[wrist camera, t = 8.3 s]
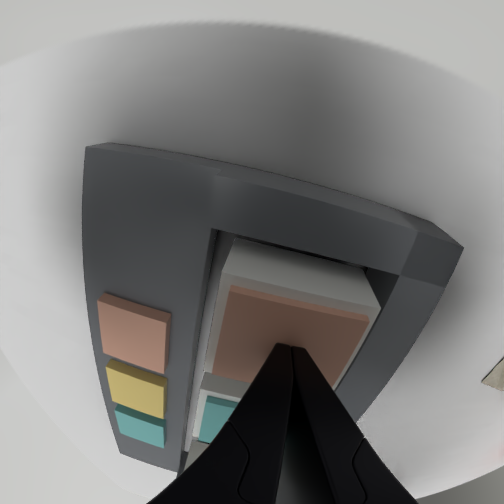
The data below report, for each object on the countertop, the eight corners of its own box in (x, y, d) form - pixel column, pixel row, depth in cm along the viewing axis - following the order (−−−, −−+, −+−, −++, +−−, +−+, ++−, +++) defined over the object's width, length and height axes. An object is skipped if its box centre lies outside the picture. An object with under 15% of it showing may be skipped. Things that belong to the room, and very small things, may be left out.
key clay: (321, 330, 12) (331, 401, 9) (222, 308, 12) (201, 377, 9) (354, 253, 11) (383, 314, 7) (240, 224, 11) (219, 277, 7)
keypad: (278, 476, 19) (276, 500, 17) (125, 439, 19) (116, 462, 17) (432, 222, 10) (464, 247, 8) (107, 142, 10) (68, 150, 8)
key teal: (289, 396, 14) (288, 459, 11) (208, 379, 14) (190, 441, 11) (314, 346, 13) (320, 417, 9) (219, 325, 13) (198, 394, 9)
